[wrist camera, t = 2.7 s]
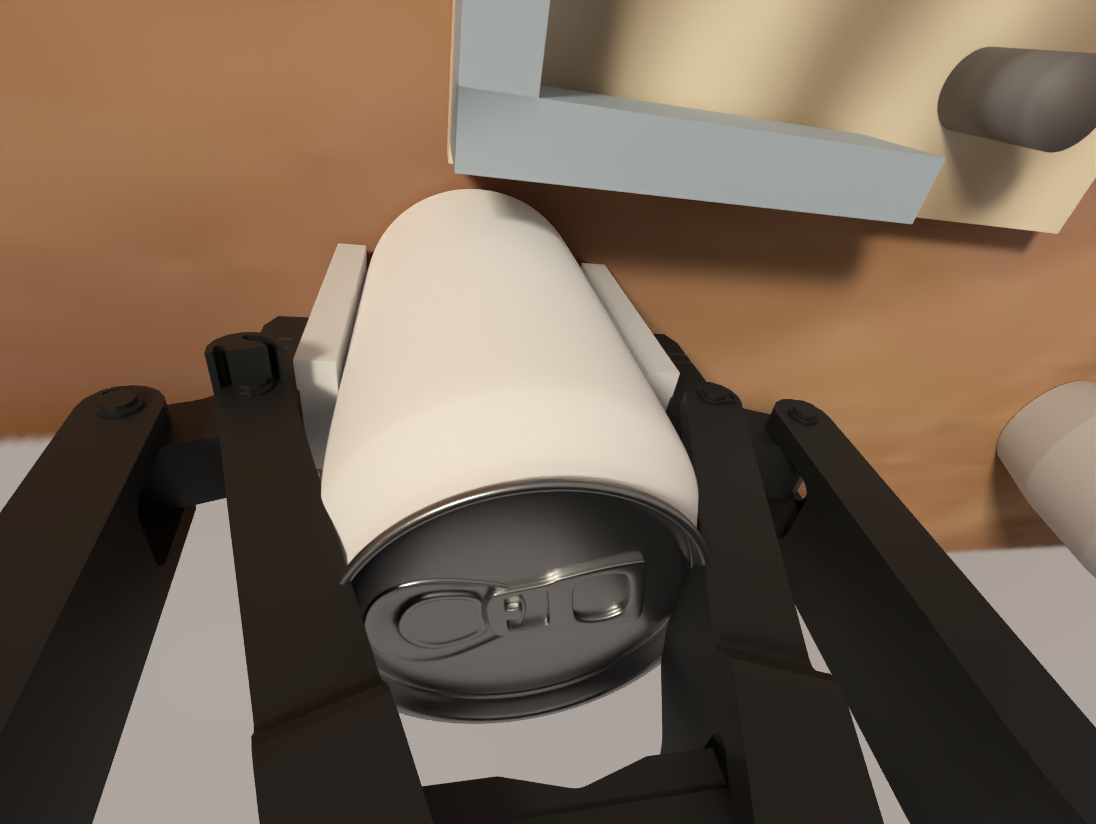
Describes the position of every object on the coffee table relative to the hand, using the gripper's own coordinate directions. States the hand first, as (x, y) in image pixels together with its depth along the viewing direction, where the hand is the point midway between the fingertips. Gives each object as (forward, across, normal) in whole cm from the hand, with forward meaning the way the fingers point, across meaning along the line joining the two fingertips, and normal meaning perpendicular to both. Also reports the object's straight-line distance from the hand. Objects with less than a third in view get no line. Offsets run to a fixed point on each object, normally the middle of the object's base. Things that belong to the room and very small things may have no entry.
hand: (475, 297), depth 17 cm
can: (+1, 0, 0) cm, 1 cm away
